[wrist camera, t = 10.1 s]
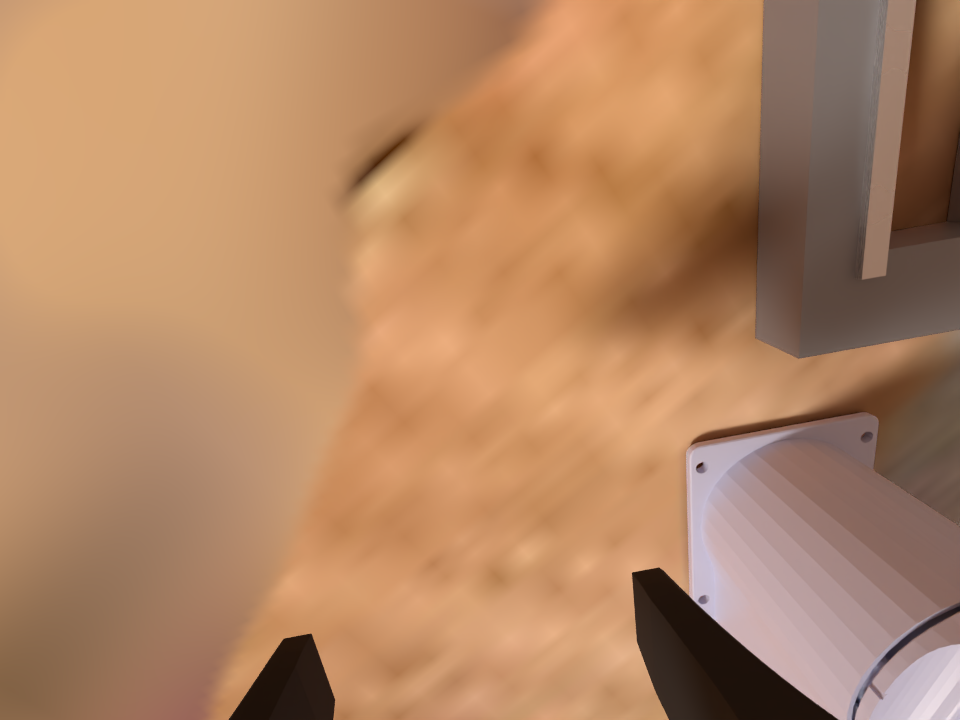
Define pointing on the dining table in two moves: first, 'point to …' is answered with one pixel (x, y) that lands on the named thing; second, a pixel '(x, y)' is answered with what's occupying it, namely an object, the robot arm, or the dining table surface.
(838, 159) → the grey rectangular frame
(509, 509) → the dining table surface
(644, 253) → the dining table surface
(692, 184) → the dining table surface
